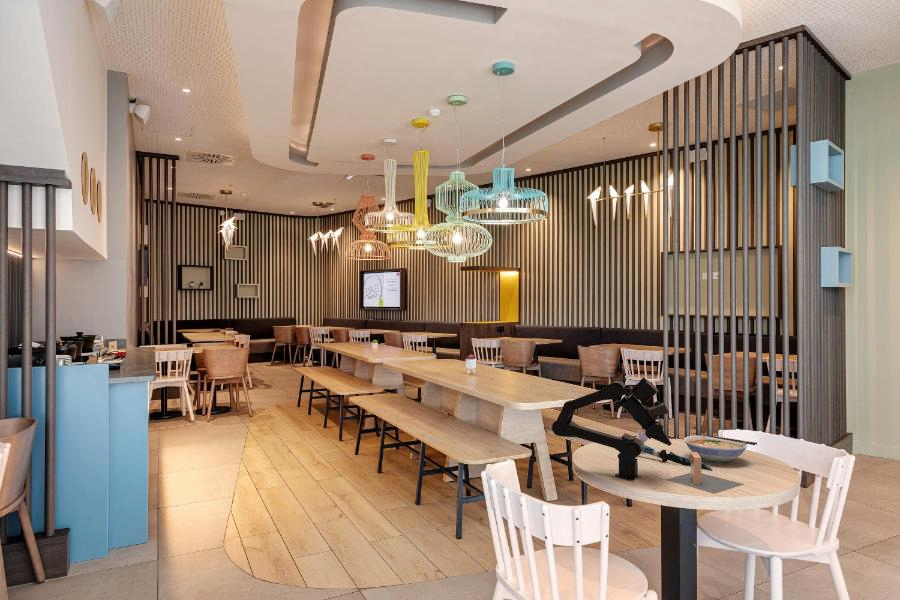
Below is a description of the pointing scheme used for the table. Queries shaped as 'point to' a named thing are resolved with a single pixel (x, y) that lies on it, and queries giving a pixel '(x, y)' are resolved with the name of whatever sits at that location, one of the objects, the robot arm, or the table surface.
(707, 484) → the mat
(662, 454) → the knife
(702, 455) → the ramen bowl
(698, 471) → the tile
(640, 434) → the water lily
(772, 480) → the table surface
